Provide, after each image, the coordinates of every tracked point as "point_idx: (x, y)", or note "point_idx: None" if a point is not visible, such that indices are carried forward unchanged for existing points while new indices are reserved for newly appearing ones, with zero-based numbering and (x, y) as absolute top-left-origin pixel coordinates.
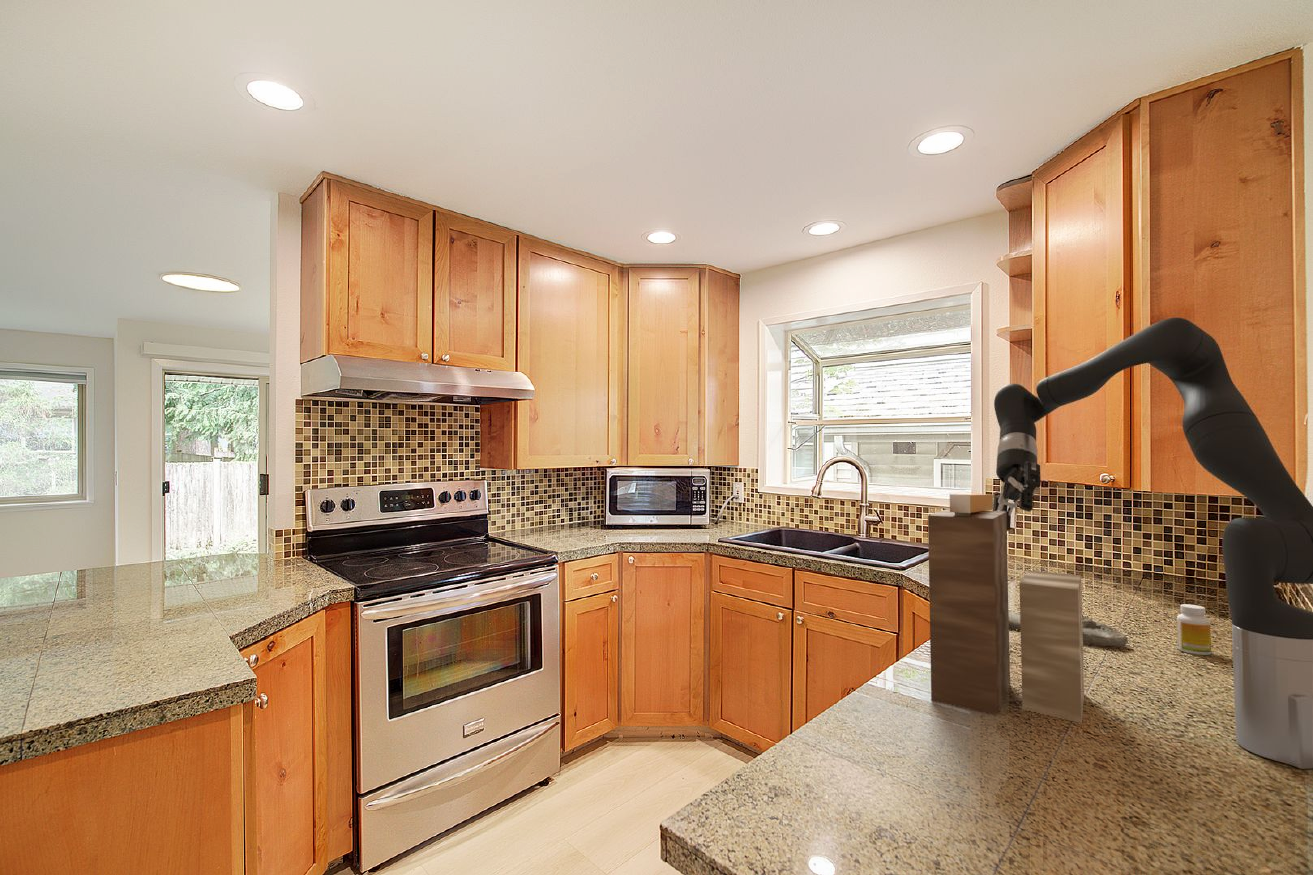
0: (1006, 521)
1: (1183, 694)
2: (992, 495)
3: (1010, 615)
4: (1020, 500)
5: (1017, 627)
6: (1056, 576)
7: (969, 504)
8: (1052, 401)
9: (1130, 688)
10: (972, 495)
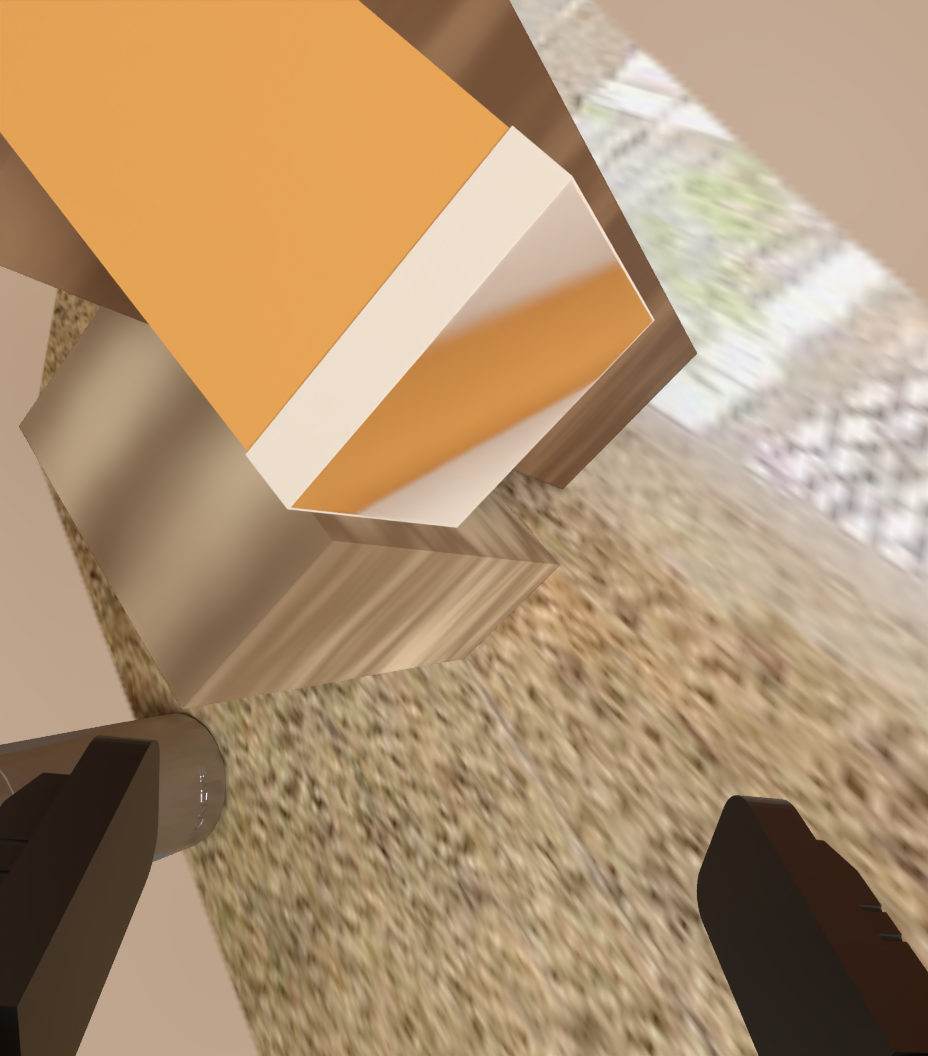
0: (56, 287)
1: (415, 957)
2: (256, 445)
3: None
4: (70, 824)
5: None
6: (187, 554)
7: None
8: None
9: (478, 851)
10: None
